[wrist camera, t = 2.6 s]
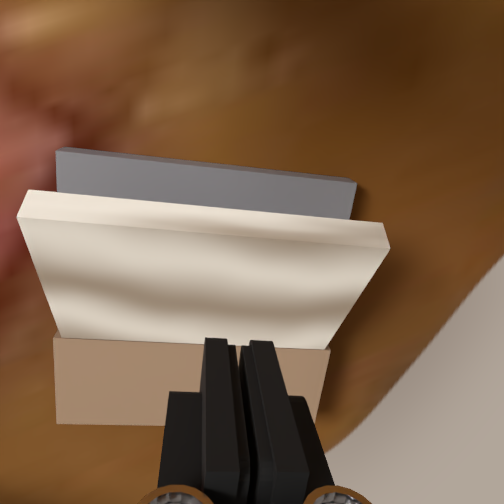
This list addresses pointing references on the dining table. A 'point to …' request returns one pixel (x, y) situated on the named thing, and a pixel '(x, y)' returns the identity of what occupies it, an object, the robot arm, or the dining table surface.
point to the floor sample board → (202, 183)
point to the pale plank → (196, 270)
